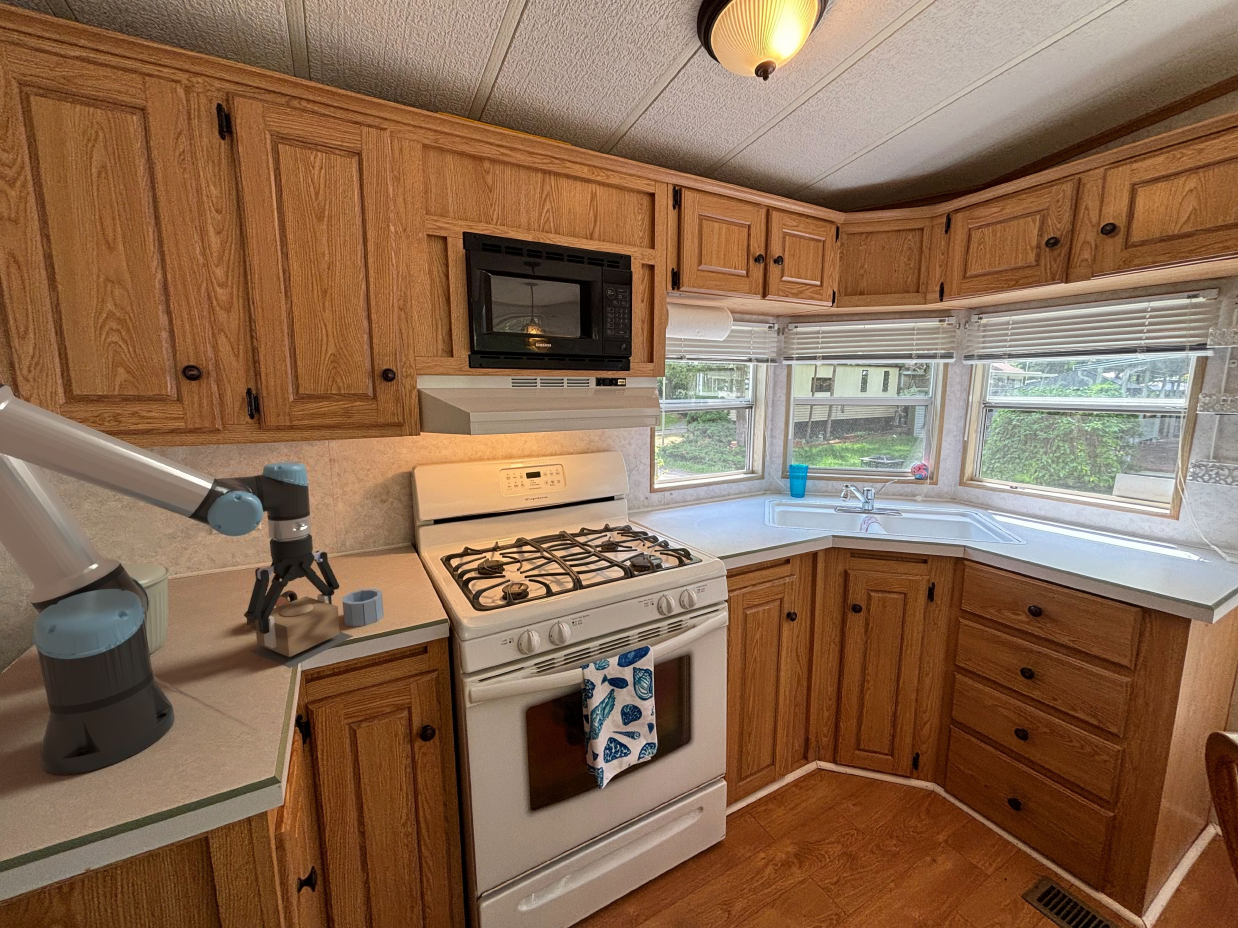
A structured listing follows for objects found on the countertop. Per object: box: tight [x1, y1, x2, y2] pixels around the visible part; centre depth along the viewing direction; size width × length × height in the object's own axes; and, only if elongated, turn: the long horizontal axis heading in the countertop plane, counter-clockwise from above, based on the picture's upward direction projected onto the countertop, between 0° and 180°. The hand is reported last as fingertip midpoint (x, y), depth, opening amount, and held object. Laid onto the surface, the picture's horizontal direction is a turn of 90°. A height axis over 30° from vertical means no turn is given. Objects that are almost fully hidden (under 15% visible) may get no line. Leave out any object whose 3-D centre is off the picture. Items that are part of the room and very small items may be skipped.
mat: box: [249, 630, 354, 669], centre depth 111 cm, size 14×14×1 cm
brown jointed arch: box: [243, 589, 299, 625], centre depth 121 cm, size 12×10×8 cm
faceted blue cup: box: [341, 588, 385, 627], centre depth 122 cm, size 8×9×6 cm
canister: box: [110, 557, 172, 655], centre depth 105 cm, size 18×18×21 cm
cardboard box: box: [254, 596, 341, 657], centre depth 110 cm, size 11×11×7 cm
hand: (298, 633), depth 110 cm, fingers closed on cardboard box, 11 cm apart
